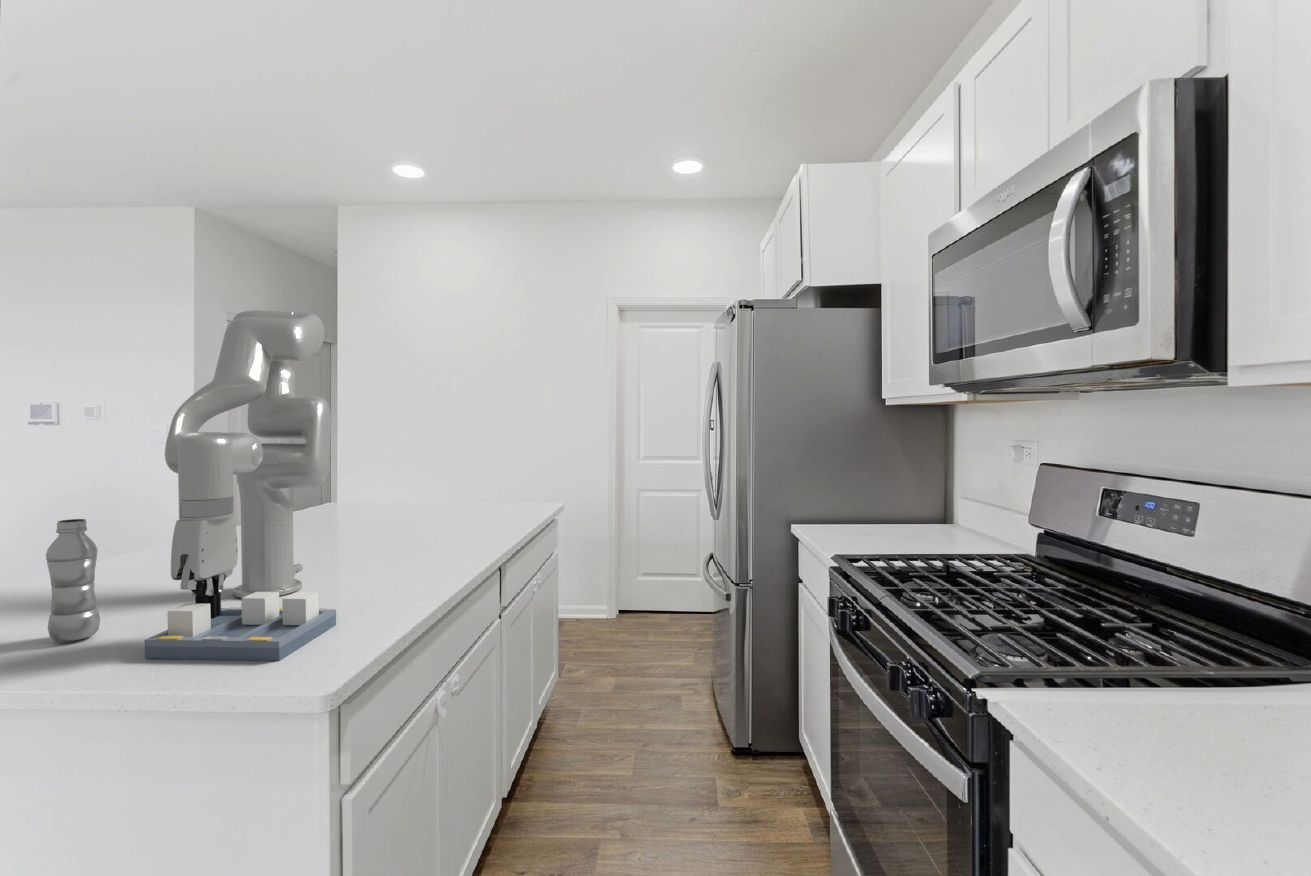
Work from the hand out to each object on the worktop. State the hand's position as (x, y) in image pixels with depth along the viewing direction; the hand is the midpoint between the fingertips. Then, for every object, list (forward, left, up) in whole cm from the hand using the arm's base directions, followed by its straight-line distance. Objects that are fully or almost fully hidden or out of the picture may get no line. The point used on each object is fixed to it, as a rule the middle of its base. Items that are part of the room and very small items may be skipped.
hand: (208, 616), depth 108 cm
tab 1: (+4, 0, -2) cm, 4 cm away
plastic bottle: (+1, -22, -4) cm, 22 cm away
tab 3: (-3, +14, -2) cm, 14 cm away
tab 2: (-3, +7, -2) cm, 8 cm away
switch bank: (0, +7, -4) cm, 8 cm away
